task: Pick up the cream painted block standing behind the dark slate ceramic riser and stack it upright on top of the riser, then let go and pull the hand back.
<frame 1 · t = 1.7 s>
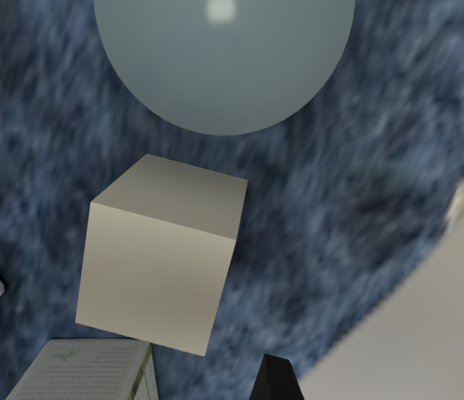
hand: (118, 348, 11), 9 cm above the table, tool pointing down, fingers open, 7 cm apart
cream block: (187, 213, 19), on the table
syrup box: (110, 377, 23), on the table
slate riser: (231, 13, 16), on the table
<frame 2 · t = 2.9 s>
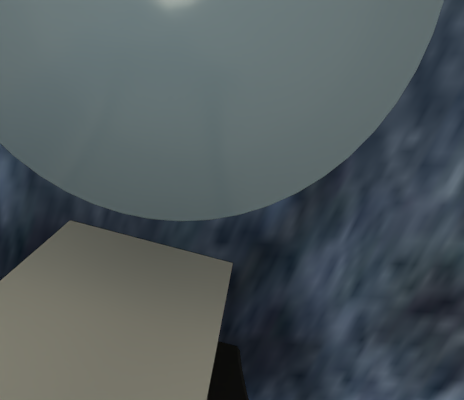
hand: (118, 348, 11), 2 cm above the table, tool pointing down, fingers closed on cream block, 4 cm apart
cream block: (138, 310, 12), on the table, touching gripper
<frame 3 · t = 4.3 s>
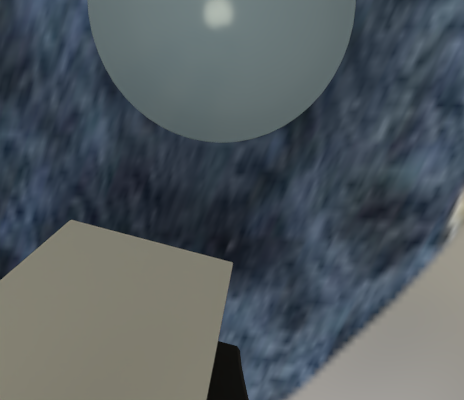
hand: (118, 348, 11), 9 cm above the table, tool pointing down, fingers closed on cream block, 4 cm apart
cream block: (138, 309, 12), point 7 cm above the table, touching gripper
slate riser: (229, 16, 16), on the table
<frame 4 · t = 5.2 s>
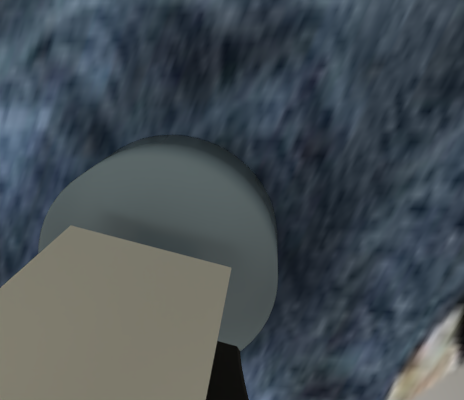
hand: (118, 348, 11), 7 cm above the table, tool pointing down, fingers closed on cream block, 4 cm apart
cream block: (137, 313, 12), point 5 cm above the table, touching gripper
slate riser: (178, 231, 17), on the table
when the fingers open (6 cm above the table, at t = 5.8 s): cream block drops 1 cm, resting on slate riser.
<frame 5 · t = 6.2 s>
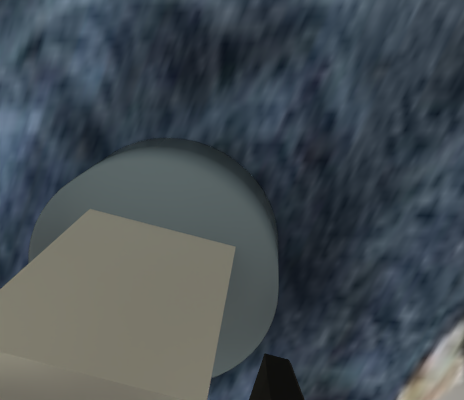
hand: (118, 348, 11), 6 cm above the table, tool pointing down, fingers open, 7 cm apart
cream block: (150, 289, 14), point 3 cm above the table, touching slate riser
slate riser: (175, 237, 17), on the table, touching cream block
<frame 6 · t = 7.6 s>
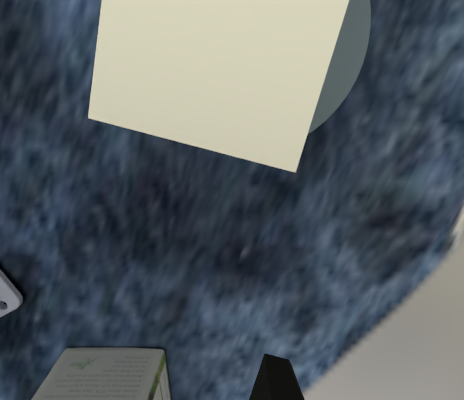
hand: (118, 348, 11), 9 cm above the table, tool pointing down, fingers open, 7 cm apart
cream block: (240, 37, 14), point 3 cm above the table, touching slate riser
syrup box: (124, 384, 24), on the table
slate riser: (248, 33, 17), on the table, touching cream block
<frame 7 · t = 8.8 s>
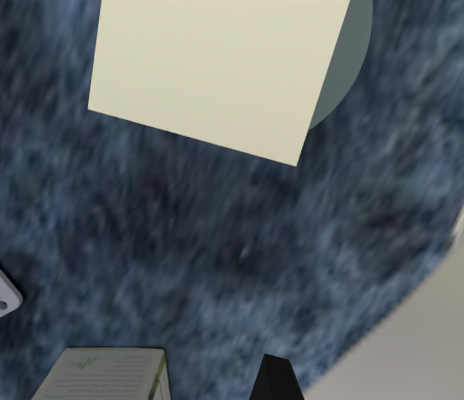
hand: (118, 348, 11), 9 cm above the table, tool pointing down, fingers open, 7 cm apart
cream block: (241, 31, 14), point 3 cm above the table, touching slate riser
syrup box: (125, 384, 24), on the table
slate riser: (249, 29, 17), on the table, touching cream block
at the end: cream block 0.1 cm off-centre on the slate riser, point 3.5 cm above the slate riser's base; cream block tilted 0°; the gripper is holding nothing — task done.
